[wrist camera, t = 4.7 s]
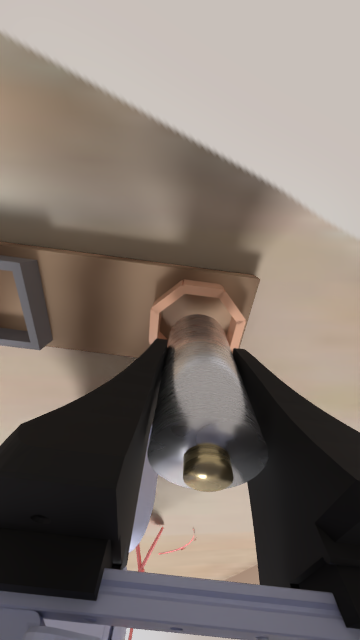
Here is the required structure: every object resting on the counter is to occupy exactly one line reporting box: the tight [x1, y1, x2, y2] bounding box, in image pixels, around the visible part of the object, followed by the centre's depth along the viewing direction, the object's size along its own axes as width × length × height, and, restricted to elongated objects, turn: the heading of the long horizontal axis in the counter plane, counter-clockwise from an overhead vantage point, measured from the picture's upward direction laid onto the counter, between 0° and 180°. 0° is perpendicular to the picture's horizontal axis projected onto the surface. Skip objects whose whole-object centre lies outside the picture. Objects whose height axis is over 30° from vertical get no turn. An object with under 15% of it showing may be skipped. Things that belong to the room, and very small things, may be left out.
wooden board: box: [0, 242, 260, 358], centre depth 15 cm, size 23×8×2 cm, turn 83°
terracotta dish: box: [149, 279, 246, 352], centre depth 14 cm, size 7×7×2 cm
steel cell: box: [147, 314, 268, 492], centre depth 9 cm, size 4×4×8 cm
